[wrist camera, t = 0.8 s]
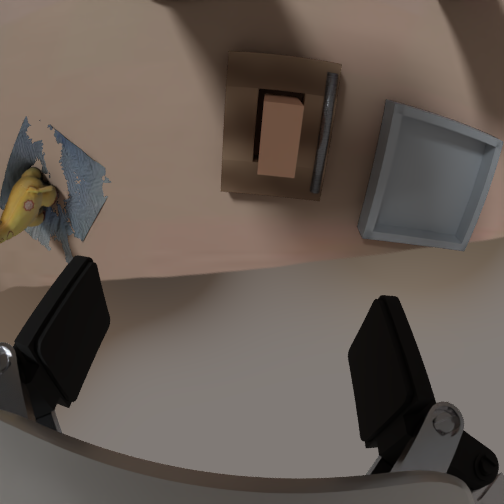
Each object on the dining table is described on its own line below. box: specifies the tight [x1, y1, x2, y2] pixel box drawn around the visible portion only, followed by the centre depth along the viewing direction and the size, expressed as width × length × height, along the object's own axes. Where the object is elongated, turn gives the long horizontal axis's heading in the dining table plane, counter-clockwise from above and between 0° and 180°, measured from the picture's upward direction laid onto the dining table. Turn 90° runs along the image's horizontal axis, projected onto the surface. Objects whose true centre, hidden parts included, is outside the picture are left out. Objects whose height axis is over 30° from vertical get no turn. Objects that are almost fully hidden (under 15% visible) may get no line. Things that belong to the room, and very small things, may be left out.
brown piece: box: [221, 51, 342, 201], centre depth 27 cm, size 14×10×2 cm
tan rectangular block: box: [257, 93, 304, 178], centre depth 25 cm, size 6×3×7 cm, turn 176°
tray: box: [357, 99, 503, 251], centre depth 29 cm, size 15×15×2 cm
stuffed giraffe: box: [0, 117, 111, 264], centre depth 28 cm, size 16×18×16 cm
